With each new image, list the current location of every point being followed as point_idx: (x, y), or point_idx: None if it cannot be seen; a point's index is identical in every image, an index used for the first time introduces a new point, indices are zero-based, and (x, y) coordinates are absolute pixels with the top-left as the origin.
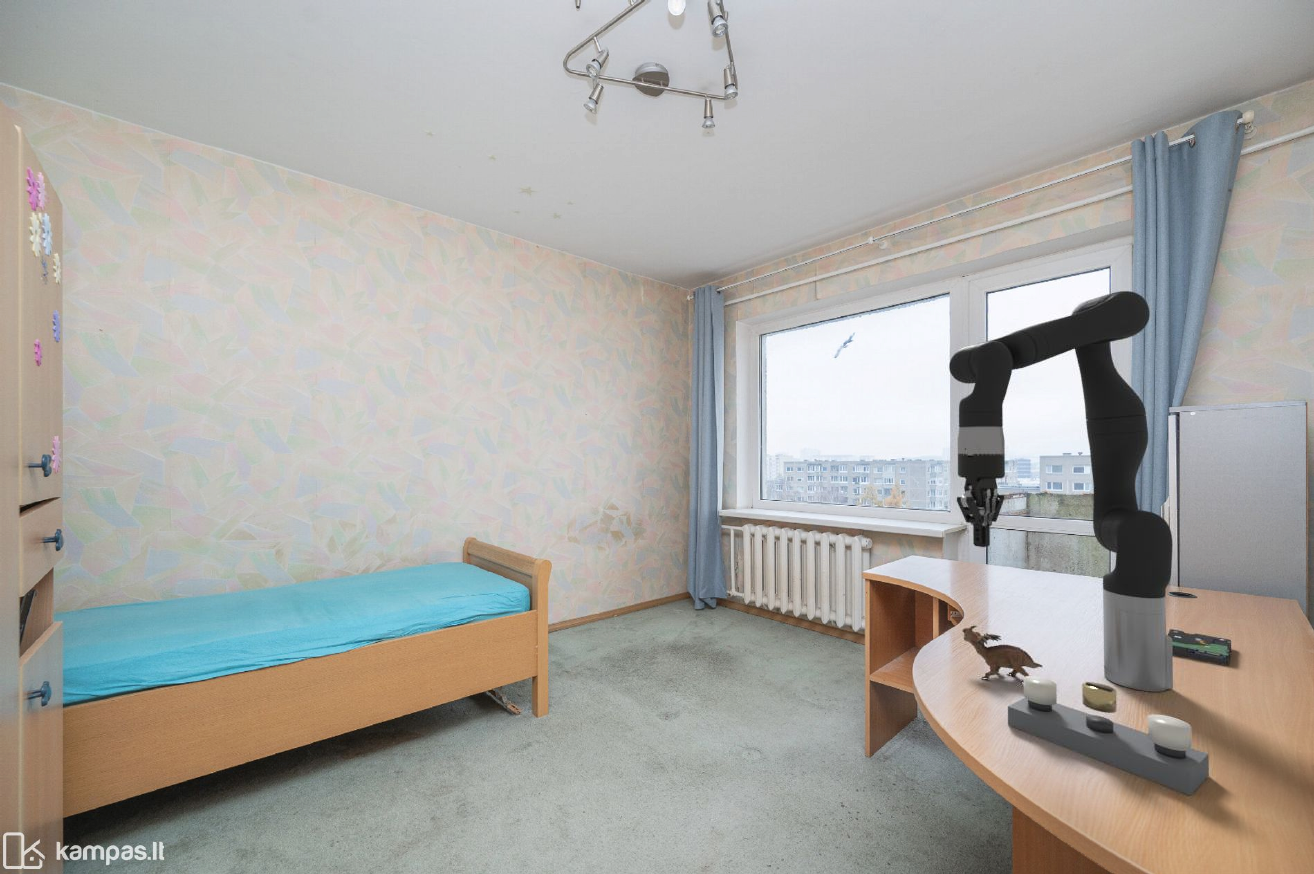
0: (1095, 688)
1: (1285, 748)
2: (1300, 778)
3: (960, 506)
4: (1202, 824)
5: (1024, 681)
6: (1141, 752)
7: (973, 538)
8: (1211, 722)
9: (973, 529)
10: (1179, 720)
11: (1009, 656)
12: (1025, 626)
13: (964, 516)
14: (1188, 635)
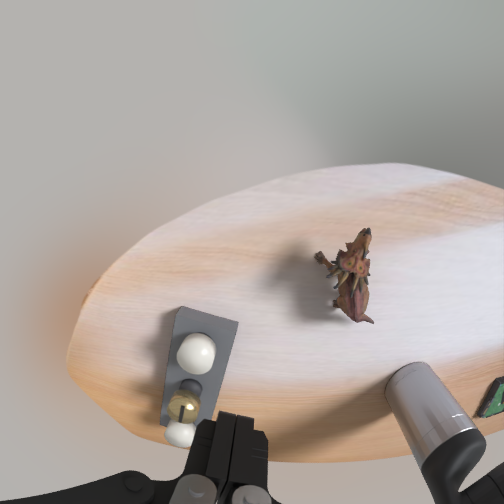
0: (176, 410)
1: (306, 457)
2: None
3: (21, 501)
4: (132, 410)
5: (184, 344)
6: (166, 406)
7: (216, 428)
8: (332, 432)
9: (208, 460)
10: (188, 444)
11: (340, 298)
12: None
13: (90, 484)
14: None
